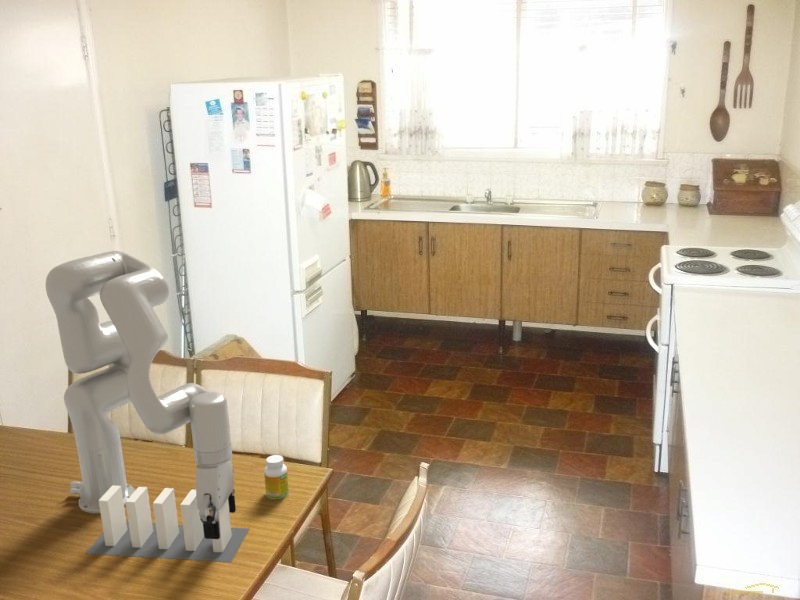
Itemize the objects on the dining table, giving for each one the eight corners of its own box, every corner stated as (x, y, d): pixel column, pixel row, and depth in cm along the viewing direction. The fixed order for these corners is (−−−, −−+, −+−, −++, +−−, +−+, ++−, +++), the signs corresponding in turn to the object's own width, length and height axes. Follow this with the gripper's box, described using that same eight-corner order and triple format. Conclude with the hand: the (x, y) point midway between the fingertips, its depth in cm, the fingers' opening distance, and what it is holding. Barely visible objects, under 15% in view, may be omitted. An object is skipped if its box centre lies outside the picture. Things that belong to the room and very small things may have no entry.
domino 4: (185, 550, 161) (180, 504, 158) (196, 533, 166) (191, 489, 163) (194, 550, 161) (189, 505, 157) (205, 534, 166) (200, 489, 163)
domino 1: (105, 545, 163) (98, 500, 160) (118, 529, 169) (112, 485, 166) (114, 546, 163) (107, 500, 160) (127, 529, 168) (121, 485, 165)
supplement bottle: (284, 502, 179) (281, 465, 176) (262, 500, 180) (259, 463, 177) (292, 490, 184) (289, 454, 181) (270, 488, 185) (268, 452, 182)
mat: (85, 555, 161) (85, 553, 161) (113, 523, 172) (112, 521, 172) (231, 564, 157) (231, 562, 157) (249, 530, 168) (249, 528, 168)
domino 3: (158, 548, 162) (152, 503, 158) (170, 532, 167) (164, 488, 164) (167, 549, 161) (161, 503, 158) (179, 532, 167) (173, 488, 164)
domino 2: (132, 547, 162) (125, 501, 159) (144, 530, 168) (138, 486, 165) (141, 547, 162) (134, 502, 159) (153, 531, 168) (147, 487, 165)
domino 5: (213, 551, 160) (208, 506, 157) (222, 535, 166) (218, 490, 162) (222, 552, 160) (217, 506, 157) (231, 535, 165) (227, 491, 162)
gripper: (210, 432, 165) (218, 501, 170) (178, 472, 149) (187, 548, 154) (244, 433, 164) (250, 503, 169) (215, 474, 148) (223, 550, 153)
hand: (220, 524), depth 161 cm, fingers open, 9 cm apart
